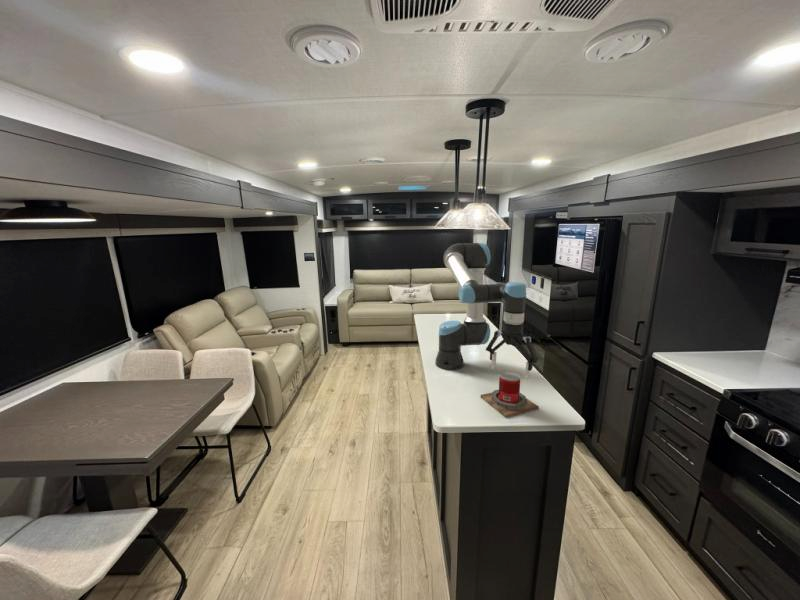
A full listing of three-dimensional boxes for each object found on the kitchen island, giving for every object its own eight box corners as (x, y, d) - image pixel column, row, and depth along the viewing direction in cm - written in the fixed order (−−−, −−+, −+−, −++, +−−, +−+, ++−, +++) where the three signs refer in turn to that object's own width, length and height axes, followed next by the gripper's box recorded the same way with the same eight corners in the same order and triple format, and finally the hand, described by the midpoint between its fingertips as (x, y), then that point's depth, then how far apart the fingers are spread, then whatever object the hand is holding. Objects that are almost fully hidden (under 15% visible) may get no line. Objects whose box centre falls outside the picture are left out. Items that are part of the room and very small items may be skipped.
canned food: (522, 404, 121) (524, 378, 118) (504, 406, 119) (505, 380, 117) (512, 394, 128) (514, 370, 126) (495, 396, 127) (496, 372, 125)
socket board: (480, 397, 128) (480, 391, 128) (511, 390, 134) (511, 385, 133) (505, 417, 114) (505, 411, 113) (538, 409, 119) (539, 402, 118)
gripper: (479, 318, 122) (476, 367, 127) (544, 330, 106) (539, 385, 111) (487, 314, 128) (484, 361, 132) (550, 325, 112) (545, 377, 117)
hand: (509, 372), depth 122 cm, fingers open, 13 cm apart
